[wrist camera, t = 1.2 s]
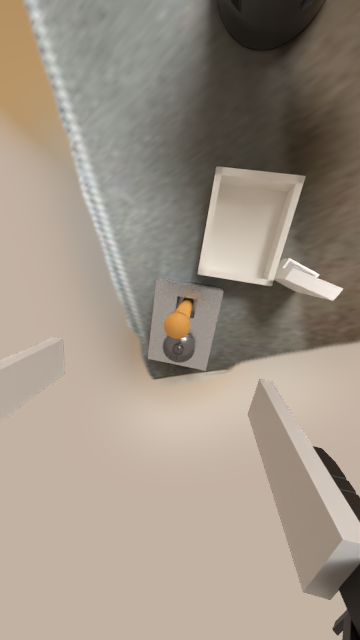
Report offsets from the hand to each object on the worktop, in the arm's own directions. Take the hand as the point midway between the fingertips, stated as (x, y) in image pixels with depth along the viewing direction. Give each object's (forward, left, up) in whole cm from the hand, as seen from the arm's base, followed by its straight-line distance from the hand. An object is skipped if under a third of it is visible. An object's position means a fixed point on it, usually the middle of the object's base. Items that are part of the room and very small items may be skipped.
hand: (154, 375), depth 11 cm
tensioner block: (+4, 0, -26) cm, 26 cm away
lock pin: (0, 0, -25) cm, 25 cm away
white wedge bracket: (-8, +18, -26) cm, 33 cm away
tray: (-14, +8, -26) cm, 30 cm away
